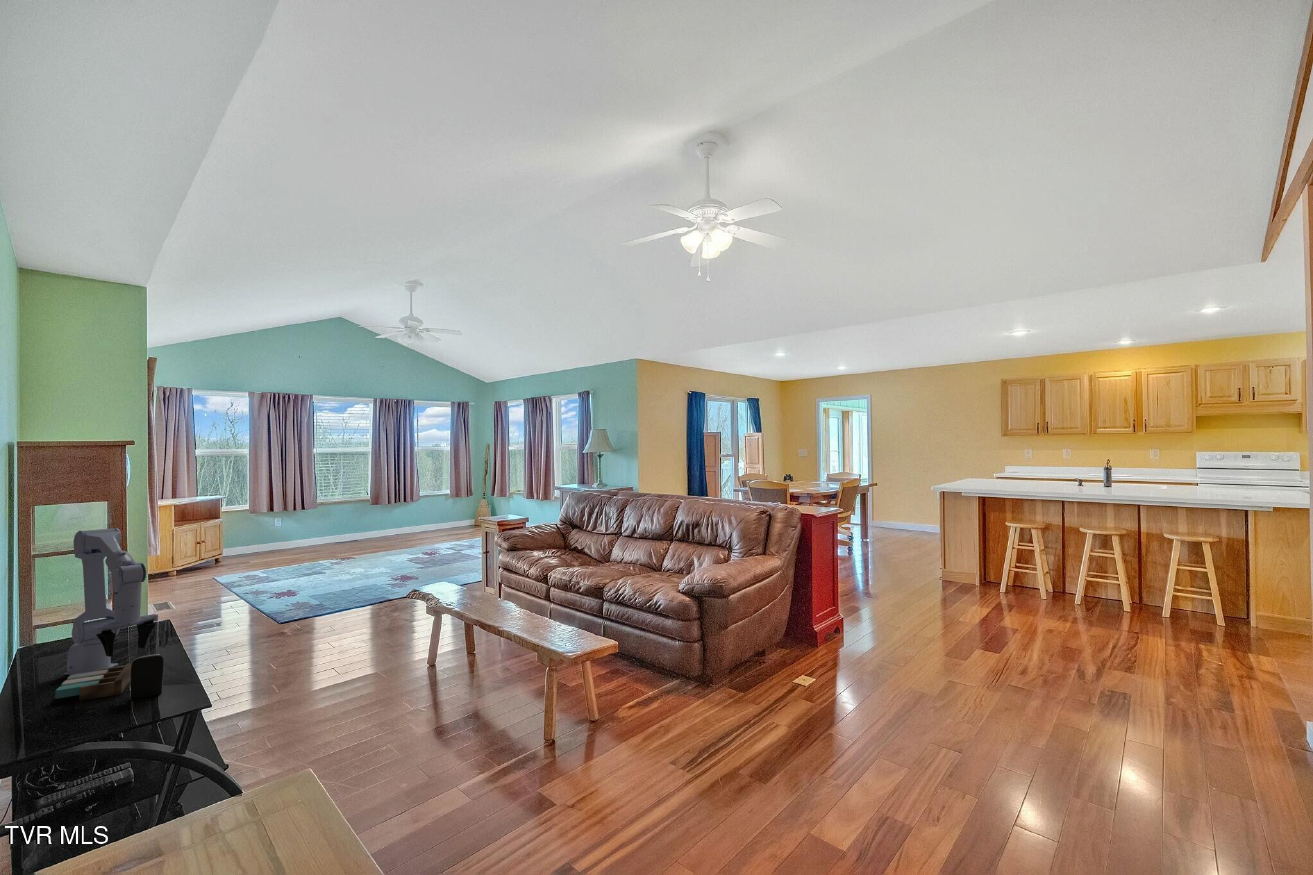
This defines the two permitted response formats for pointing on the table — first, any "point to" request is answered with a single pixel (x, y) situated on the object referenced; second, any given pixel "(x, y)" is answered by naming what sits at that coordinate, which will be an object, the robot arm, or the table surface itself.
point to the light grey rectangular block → (86, 674)
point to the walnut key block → (107, 683)
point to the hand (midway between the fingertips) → (125, 651)
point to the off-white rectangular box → (81, 680)
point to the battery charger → (146, 676)
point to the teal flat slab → (72, 689)
